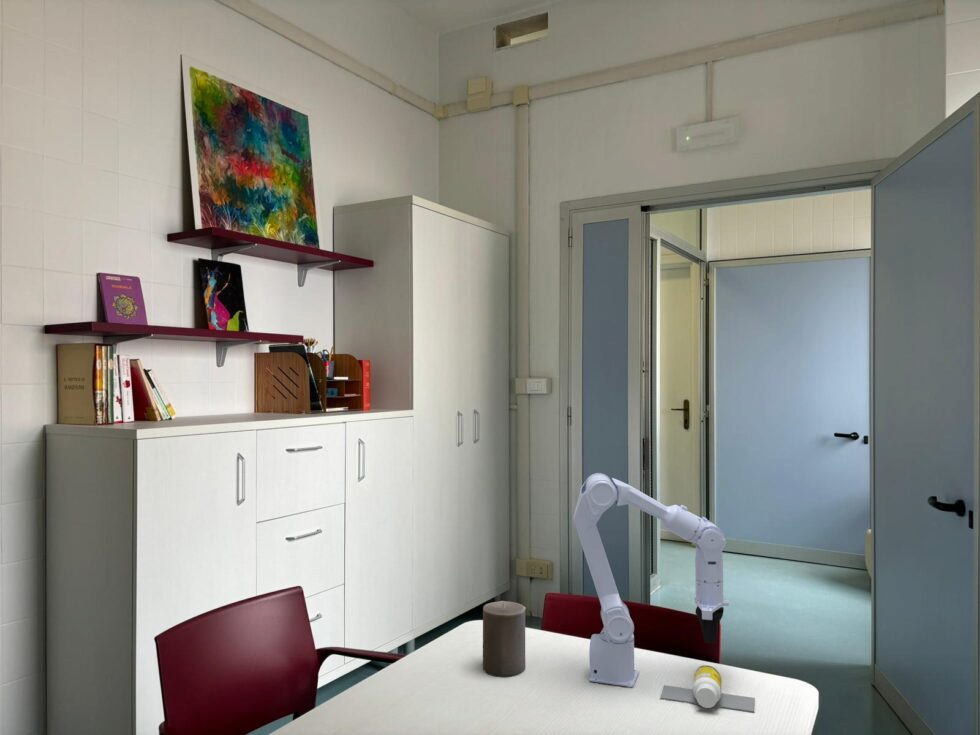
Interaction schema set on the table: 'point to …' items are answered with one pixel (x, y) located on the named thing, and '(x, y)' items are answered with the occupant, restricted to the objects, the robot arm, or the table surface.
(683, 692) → the mat
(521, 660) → the pillar candle
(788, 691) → the table surface
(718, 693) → the supplement bottle
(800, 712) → the table surface
